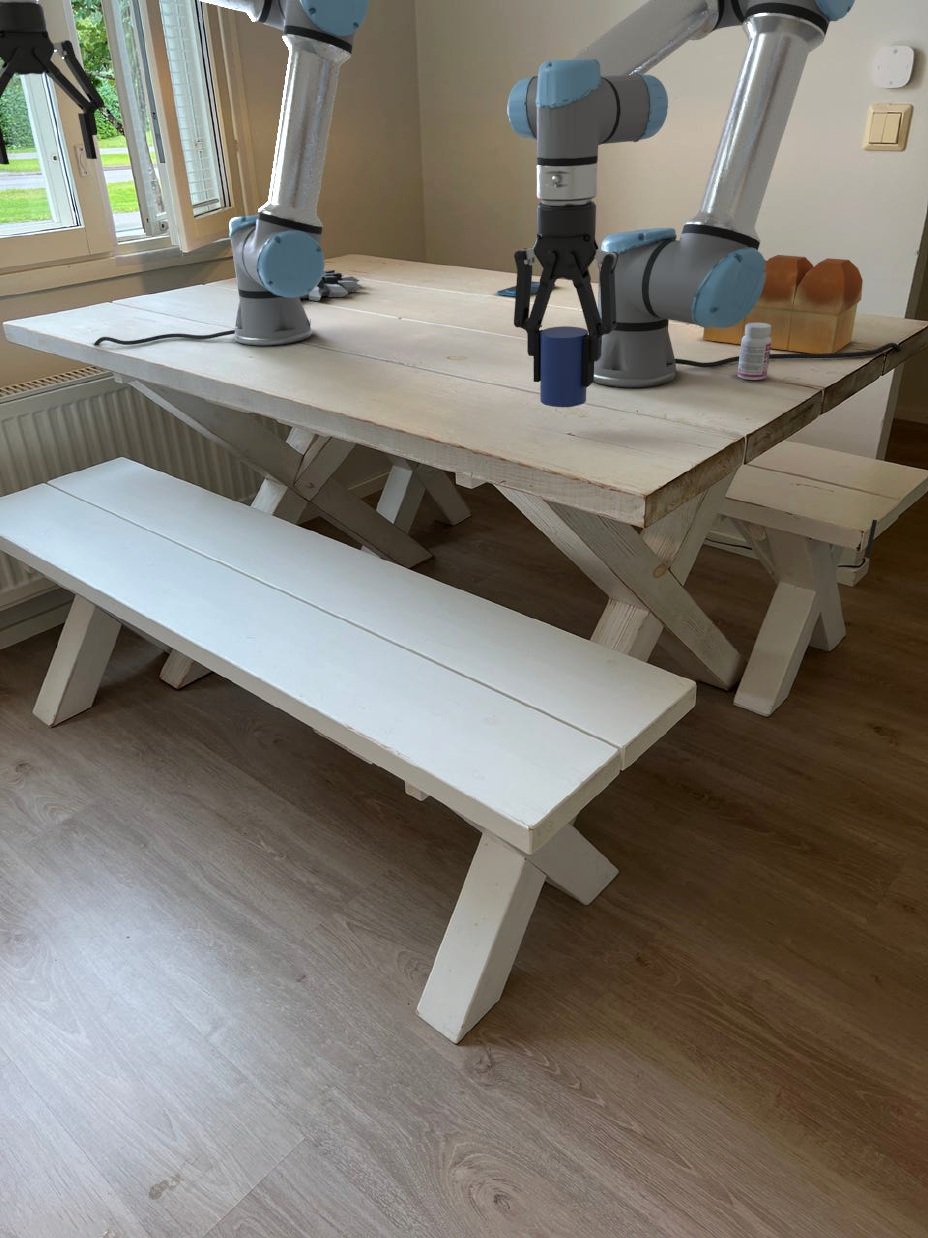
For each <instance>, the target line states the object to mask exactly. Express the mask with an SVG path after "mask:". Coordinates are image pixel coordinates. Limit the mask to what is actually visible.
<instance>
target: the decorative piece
mask: <svg viewBox="0 0 928 1238" xmlns="http://www.w3.org/2000/svg"><path fill="white" fill-rule="evenodd" d="M359 281H360V279H358V278H357V277H354V276H352V275H347V276H345V275H343V274H342V272H335V269H328V270H324V272H323V275H322V278H321V280H320V282H319V283H318V285H317V286H316V287H315V288H314V289H313V290H312V291H311V292H309V293H307V294H306V295H303V296H300V297H299V299H300V300H302V299H308V300H309V301H314V302H315V301H316V302H319V301H320V300H321V298H322V297H328V298H344V297H345V296H347V295H348V294H349V293H353V292H354V293H355V292H357V291H358V290H359V289H361V288H363V286H362V285H361V284H359Z"/></svg>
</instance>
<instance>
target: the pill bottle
mask: <svg viewBox="0 0 928 1238" xmlns="http://www.w3.org/2000/svg"><path fill="white" fill-rule="evenodd" d="M770 333H771V325H770V324H766V323H748V324H746V327H745V334H746V335H745V336H744V337H743V338H742V341H741V344H740V348H739V349H740V350H739V356H740V357H739V361H738V367H737V377H738V378H740V379H742V380H748V381H759V380H764V379H766V378H767V377H768V376H767V375H768V369H769V362H770V359H769V356H770V354H771V349H772V348H771V338H770V337H769V335H770Z"/></svg>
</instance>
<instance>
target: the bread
mask: <svg viewBox="0 0 928 1238" xmlns="http://www.w3.org/2000/svg"><path fill="white" fill-rule="evenodd" d="M764 260H765V264H766V269H765V270H764V273H765V274H766V278H765V283H764V287H763V290H762V293H761V295H760V297H759V299H758V301H757V303H756V305H755V306H754V308H753V309H752V311H751V312H750V313H749V314H748V316H747V317H746V318H744V319H742V320H741V321H740V322H739V323H738V324H736V325H735V326H732V327H729V328H714V327H709V328H703V335H702V340H704V341H712V342H720V343H726V344H735V345H741V341H742V338H743V337H744V336H745V335H746V334H745V327H746V324H748V323H766V324H770V325H771V333H770V335H769V337H770V338H771V349H775V350H783V351H789V352H790V351H791V352H798V353H804V354H825V353H838V351H840V350H841V349H843V348H844V347H845V346H847V345H848V344H850V343H851V342H852V339H853V338H852V336H853V333H854V332H853V331H854V326H855V320H856V314H857V309H858V304H859V302H861V301H862V293H863V283H864V282H863V281H864V280H863V277H862V275H861V272H860V270H859V268H858V267H857V266H856V265H855V264H854V263H853V262H852V261H851V260H850V259H843V258H842V259H841V258H829V257H827V258H825V259H823V260H821V261H819V262H818V263H816V264H815V265H814V264H813V263H812V262H811V261H810V260H809V259H808V258H807V257H806V256H798V255H797V256H796V255H785V254H783V255H782V254H776V255H774V256H772V257H770V258H768V259H767V260H766V259H765V258H764Z"/></svg>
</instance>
